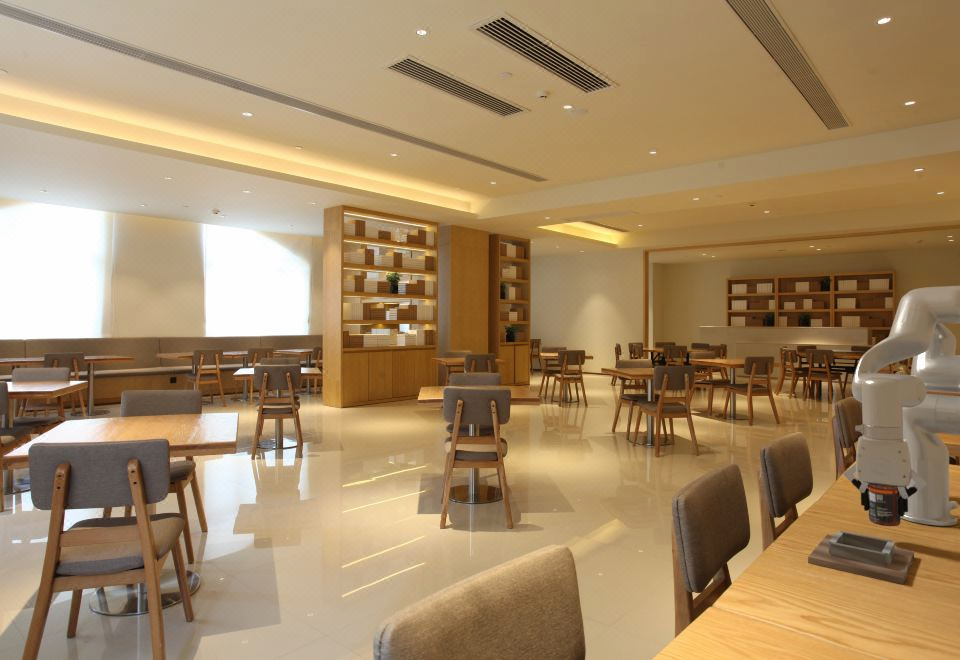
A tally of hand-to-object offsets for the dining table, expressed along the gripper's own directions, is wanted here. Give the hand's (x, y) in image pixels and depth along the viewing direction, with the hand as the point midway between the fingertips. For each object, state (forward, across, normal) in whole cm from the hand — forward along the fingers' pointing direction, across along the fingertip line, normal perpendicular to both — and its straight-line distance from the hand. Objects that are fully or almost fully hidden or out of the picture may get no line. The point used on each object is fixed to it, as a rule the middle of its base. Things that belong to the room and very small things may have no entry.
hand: (884, 511), depth 134 cm
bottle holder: (+6, -2, -16) cm, 18 cm away
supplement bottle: (+3, 0, 0) cm, 3 cm away
